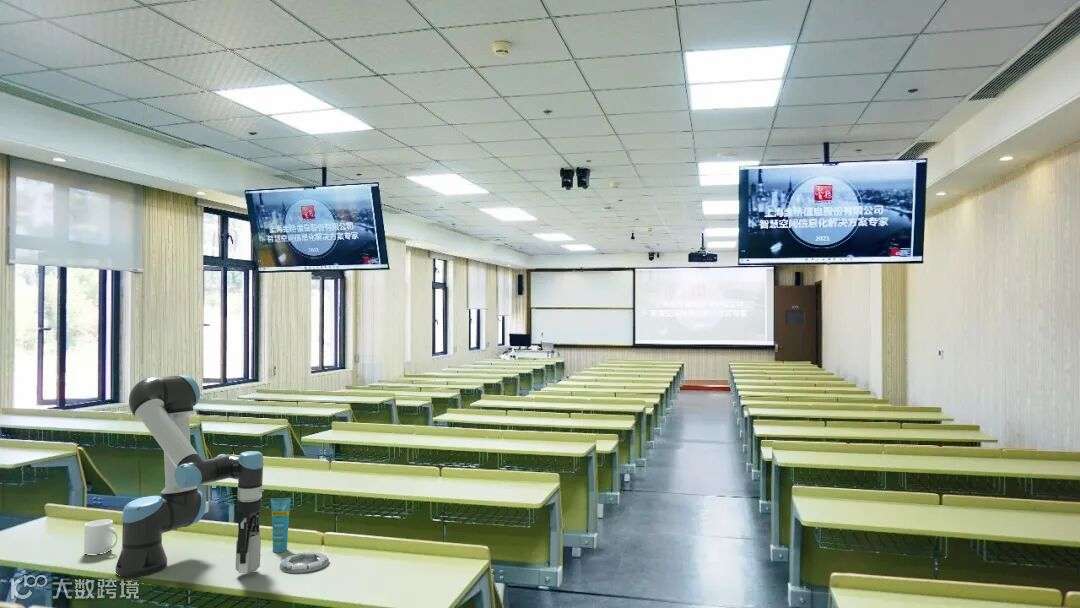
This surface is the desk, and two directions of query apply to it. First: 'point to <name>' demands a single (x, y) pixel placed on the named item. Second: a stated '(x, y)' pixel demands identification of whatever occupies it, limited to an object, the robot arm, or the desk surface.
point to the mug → (99, 536)
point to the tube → (280, 523)
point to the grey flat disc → (304, 563)
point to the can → (252, 553)
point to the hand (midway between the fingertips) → (247, 567)
